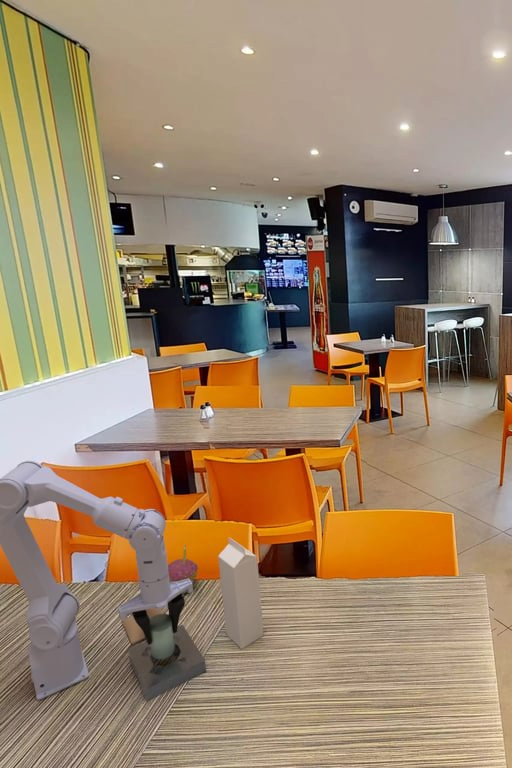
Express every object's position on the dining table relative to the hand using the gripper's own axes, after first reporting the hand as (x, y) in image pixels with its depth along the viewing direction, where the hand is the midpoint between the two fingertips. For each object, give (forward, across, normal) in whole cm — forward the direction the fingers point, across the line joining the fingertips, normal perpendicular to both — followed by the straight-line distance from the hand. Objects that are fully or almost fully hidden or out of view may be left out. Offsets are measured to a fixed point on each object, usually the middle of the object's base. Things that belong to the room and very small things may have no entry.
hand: (161, 635), depth 89 cm
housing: (+7, 0, 0) cm, 7 cm away
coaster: (+7, 0, +14) cm, 16 cm away
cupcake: (+7, +12, +22) cm, 26 cm away
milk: (+7, +17, -2) cm, 19 cm away
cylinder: (+3, 0, 0) cm, 3 cm away
